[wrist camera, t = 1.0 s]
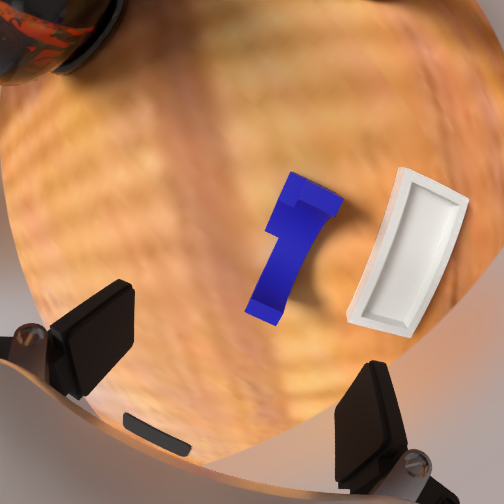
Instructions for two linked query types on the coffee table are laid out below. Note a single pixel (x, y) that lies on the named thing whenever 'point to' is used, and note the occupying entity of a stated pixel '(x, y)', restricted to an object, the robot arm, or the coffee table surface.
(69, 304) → the coffee table surface
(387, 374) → the robot arm
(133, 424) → the phone
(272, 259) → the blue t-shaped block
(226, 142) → the coffee table surface
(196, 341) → the coffee table surface
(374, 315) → the tray
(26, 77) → the amphora vase
